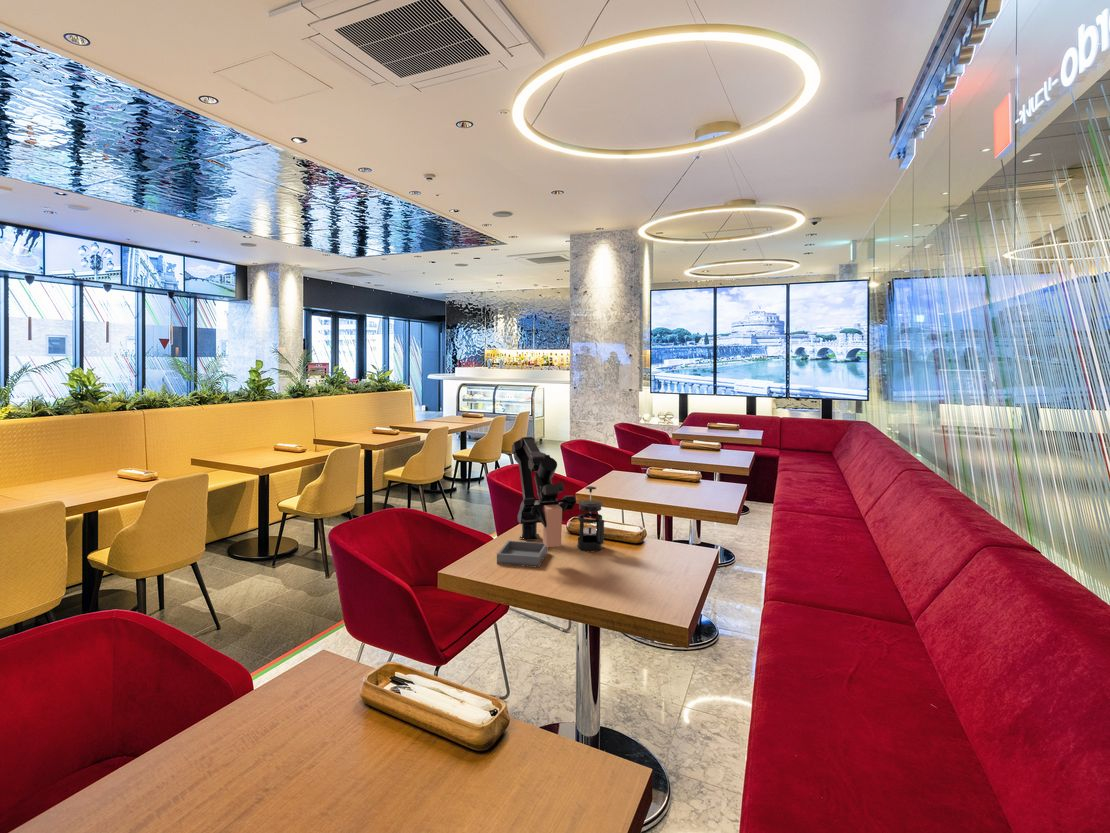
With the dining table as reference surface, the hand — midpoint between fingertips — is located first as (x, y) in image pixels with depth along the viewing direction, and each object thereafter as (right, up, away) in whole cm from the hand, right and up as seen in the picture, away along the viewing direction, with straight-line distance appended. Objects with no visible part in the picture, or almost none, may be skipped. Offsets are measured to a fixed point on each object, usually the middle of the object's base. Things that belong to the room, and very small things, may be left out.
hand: (553, 526), depth 190 cm
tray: (-11, -13, +8) cm, 19 cm away
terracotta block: (-1, -7, +2) cm, 7 cm away
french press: (+14, -12, +20) cm, 27 cm away
